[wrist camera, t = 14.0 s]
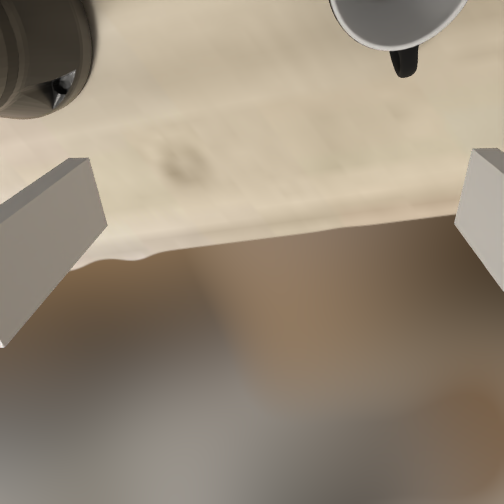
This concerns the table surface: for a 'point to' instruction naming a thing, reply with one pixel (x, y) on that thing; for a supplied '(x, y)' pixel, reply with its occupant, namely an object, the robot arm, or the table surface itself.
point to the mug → (395, 25)
